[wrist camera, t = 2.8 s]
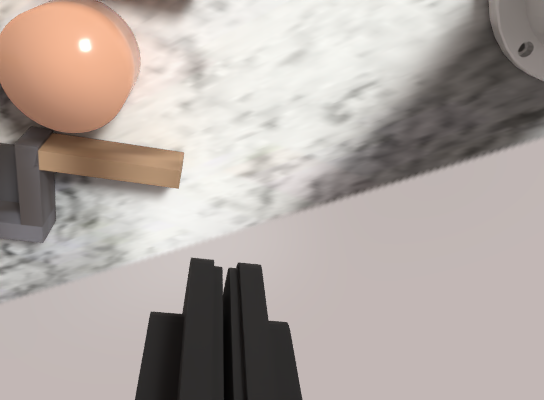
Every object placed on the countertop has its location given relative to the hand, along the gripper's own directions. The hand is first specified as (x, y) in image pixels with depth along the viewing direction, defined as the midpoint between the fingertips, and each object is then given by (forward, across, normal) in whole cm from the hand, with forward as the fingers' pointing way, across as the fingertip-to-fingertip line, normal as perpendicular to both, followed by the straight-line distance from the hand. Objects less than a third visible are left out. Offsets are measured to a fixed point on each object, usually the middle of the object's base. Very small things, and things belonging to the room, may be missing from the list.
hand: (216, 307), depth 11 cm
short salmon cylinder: (+18, +7, 0) cm, 20 cm away
